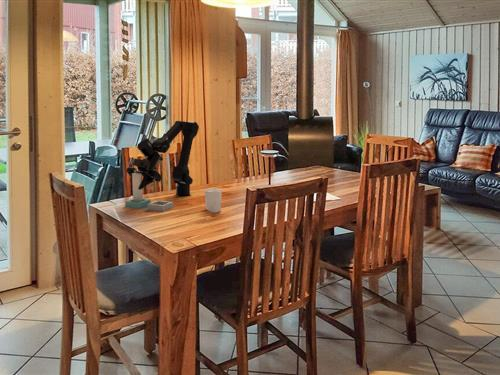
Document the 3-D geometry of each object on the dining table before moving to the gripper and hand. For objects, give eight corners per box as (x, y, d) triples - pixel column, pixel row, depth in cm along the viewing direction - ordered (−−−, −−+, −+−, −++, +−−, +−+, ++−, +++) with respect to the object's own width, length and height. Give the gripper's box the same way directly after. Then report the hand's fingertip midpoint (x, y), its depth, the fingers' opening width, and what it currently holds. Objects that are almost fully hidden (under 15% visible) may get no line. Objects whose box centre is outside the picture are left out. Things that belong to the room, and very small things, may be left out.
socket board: (175, 208, 246) (175, 201, 245) (162, 214, 236) (162, 206, 235) (137, 204, 254) (136, 197, 254) (122, 209, 245) (122, 201, 244)
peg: (143, 201, 249) (142, 172, 247) (141, 203, 245) (140, 174, 242) (134, 201, 249) (133, 172, 247) (132, 203, 245) (131, 174, 242)
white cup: (215, 213, 237) (215, 192, 235) (201, 211, 241) (201, 190, 239) (225, 210, 244) (225, 189, 242) (211, 208, 248) (211, 187, 246)
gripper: (127, 150, 251) (111, 176, 244) (156, 153, 241) (141, 180, 234) (139, 164, 259) (124, 190, 252) (168, 168, 249) (153, 194, 242)
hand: (135, 188), depth 245 cm, fingers closed on peg, 4 cm apart
